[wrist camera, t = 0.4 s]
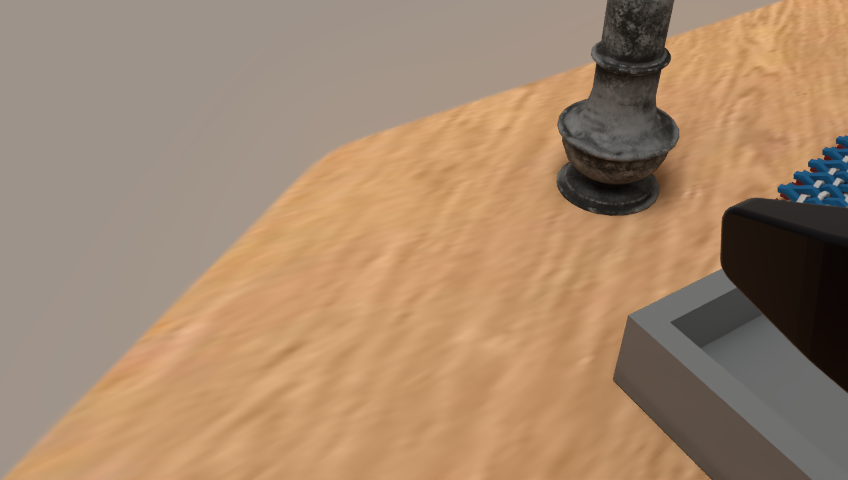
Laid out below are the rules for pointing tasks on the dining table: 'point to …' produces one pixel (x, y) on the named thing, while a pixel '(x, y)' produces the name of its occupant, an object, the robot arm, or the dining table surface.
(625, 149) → the dark grey tiered figure
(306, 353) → the dining table surface
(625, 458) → the dining table surface
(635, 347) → the serving bin
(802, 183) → the woven mat
